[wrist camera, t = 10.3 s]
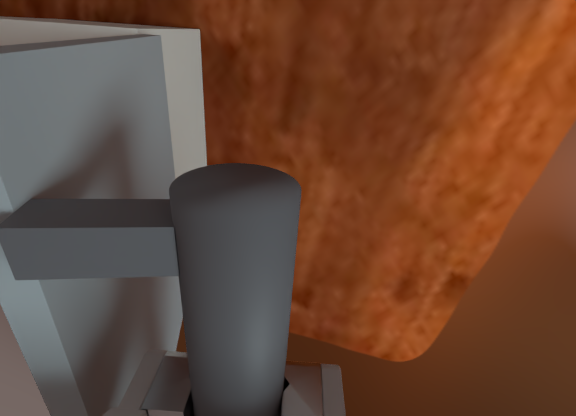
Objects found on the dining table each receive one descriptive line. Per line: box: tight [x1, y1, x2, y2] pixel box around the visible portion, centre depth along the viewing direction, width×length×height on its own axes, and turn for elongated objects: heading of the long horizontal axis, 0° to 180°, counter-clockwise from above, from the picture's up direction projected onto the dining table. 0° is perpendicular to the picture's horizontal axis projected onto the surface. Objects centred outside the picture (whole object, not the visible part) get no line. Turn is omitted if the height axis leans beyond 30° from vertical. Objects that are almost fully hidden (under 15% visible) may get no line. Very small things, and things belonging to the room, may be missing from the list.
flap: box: [0, 34, 301, 416], centre depth 13 cm, size 16×14×6 cm
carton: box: [0, 16, 207, 179], centre depth 23 cm, size 16×10×10 cm, turn 176°
